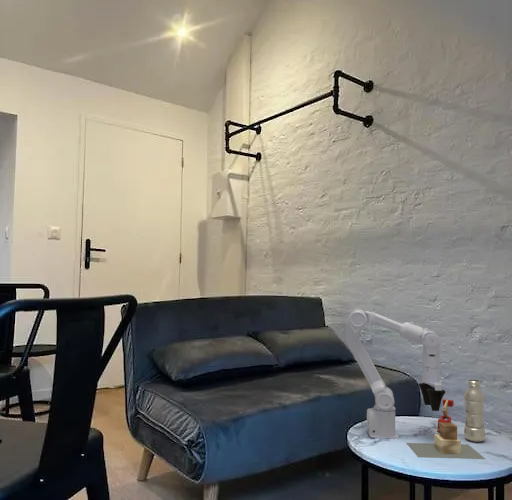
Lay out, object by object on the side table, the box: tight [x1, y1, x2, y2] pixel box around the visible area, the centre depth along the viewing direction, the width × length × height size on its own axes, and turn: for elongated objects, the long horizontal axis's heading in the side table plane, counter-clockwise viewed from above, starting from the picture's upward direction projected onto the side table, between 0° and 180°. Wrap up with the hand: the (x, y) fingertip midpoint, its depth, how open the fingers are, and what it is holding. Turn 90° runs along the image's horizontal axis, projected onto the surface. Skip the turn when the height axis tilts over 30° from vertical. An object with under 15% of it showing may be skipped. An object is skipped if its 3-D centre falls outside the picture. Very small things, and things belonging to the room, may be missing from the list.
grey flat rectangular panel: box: [406, 442, 486, 460], centre depth 151 cm, size 20×13×1 cm, turn 88°
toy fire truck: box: [437, 398, 454, 433], centre depth 175 cm, size 3×14×10 cm, turn 148°
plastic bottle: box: [463, 378, 486, 443], centre depth 162 cm, size 6×7×20 cm
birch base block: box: [433, 433, 462, 454], centre depth 151 cm, size 6×6×4 cm
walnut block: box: [439, 422, 458, 440], centre depth 151 cm, size 4×4×4 cm
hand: (431, 407), depth 163 cm, fingers open, 7 cm apart
